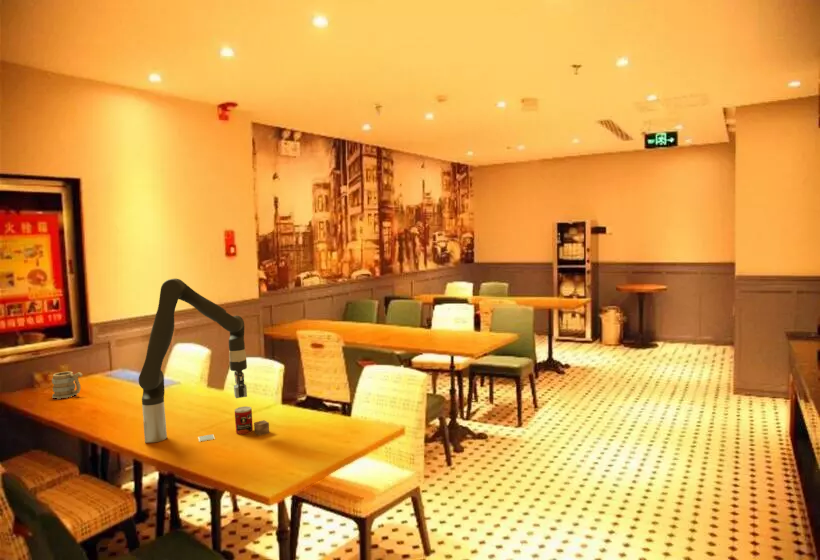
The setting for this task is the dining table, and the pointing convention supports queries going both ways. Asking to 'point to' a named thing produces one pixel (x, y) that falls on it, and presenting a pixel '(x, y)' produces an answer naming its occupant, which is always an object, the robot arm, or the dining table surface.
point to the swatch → (206, 438)
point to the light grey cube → (238, 391)
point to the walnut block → (261, 427)
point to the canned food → (243, 420)
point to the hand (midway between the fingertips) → (240, 395)
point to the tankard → (65, 384)
